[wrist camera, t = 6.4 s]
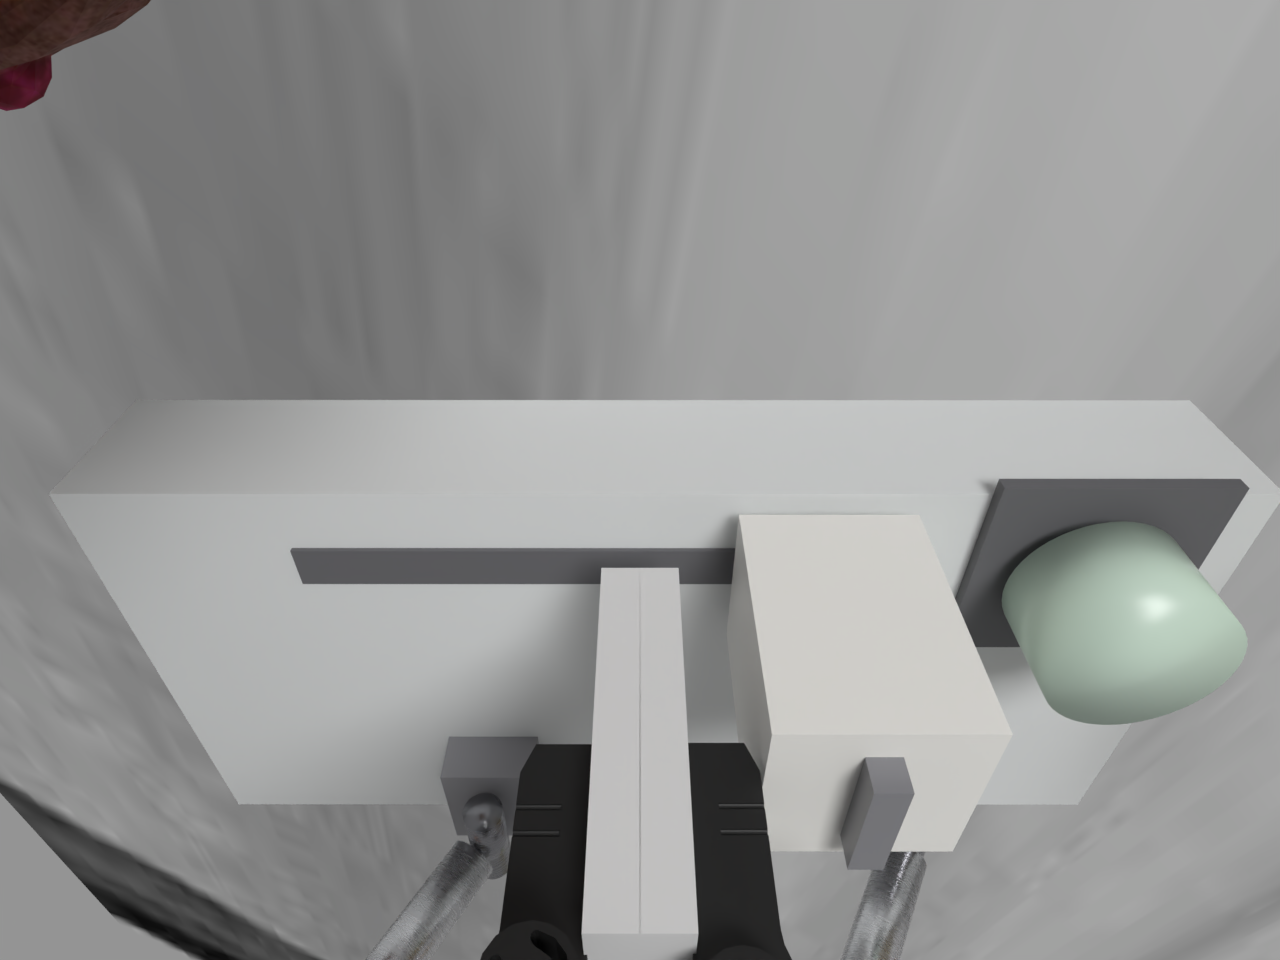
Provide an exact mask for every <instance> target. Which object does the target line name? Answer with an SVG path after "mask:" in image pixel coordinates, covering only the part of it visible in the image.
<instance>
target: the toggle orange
mask: <svg viewBox="0 0 1280 960" xmlns="http://www.w3.org/2000/svg"><path fill="white" fill-rule="evenodd" d="M463 821H464V824H465V828H466V831H467V835H468V839H469V842H470V844H468V843H466V842H464V841H459V840H458V841H456V842H455V844H454V845H453V846H452V848H451V849H450V850H449V852H448V853H447V854H446V855H445V857H444V858H443V859H442V861H441V862H440V863H439V864H438V866H437V867H436V868H435V870H434V871H433V872H432V873H431V875H430V876H429V877H428V879H427V880H426V881H425V883H424V884H423V885H422V886H421V888H420V889H419V890H418V892H417V893H416V894H415V895H414V897H413V898H412V899H411V901H410V902H409V903H408V904H407V906H406V907H405V908H404V910H403V911H402V912H401V914H400V915H399V916H398V917H397V919H396V920H395V921H394V923H393V924H392V925H391V926H390V928H389V929H388V930H387V932H386V933H385V934H384V935H383V937H382V938H381V939H380V941H379V942H378V943H377V945H376V946H375V947H374V948H373V950H372V951H371V952H370V954H369V955H368V956H367V957H366V959H365V960H430V958H431V957H432V955H433V954H434V953H435V951H436V950H437V948H438V947H439V946H440V944H441V943H442V941H443V940H444V939H445V937H446V936H447V934H448V933H449V932H450V930H451V929H452V928H453V926H454V925H455V923H456V922H457V921H458V919H459V918H460V916H461V915H462V914H463V912H464V911H465V909H466V908H467V907H468V905H469V904H470V902H471V901H472V900H473V898H474V897H475V895H476V894H477V893H478V891H479V890H480V888H481V887H482V886H483V884H484V883H485V881H486V880H487V879H498V878H500V877H502V876H504V875H505V874H506V873H507V869H508V862H509V854H510V846H511V844H510V839H509V835H508V830H507V825H506V820H505V816H504V811H503V806H502V803H501V801H500V799H499V798H498V797H497V796H496V795H494V794H491V793H480V794H477V795H475V796H473V797H472V798H470V799H469V800H468V801H467V803H466V804H465V806H464V809H463Z"/></svg>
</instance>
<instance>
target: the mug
mask: <svg viewBox="0 0 1280 960" xmlns="http://www.w3.org/2000/svg"><path fill="white" fill-rule="evenodd" d="M150 1H151V0H0V109H2V110H5V111H10V110H16V109H22V108H25V107H27V106H28V105H30V104H32V103H34V102H35V101H37V100H39V99H40V98H42V97H44V95H45V92H46V90H47V88H48V86H49V83H50V81H51V79H52V61H51V56H52V55H54V54H56V53H57V52H59V51H61V50H63V49H64V48H67V47H69V46H72V45H74V44H77V43H80V42H82V41H85V40H87V39H90V38H92V37H95V36H97V35H100V34H102V33H105V32H107V31H110V30H112V29H115V28H116V27H118V26H119V25H120V24H122V23H123V22H125V21H126V20H127V19H129V18H130V17H131V16H133V15H134V14H135V13H137V12H138V11H139V10H141V9H142V8H144V7H145V6H146V5H148V3H149V2H150Z"/></svg>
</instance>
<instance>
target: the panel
mask: <svg viewBox="0 0 1280 960" xmlns="http://www.w3.org/2000/svg"><path fill="white" fill-rule="evenodd" d="M49 496H50V497H51V499H52V500H53V502H54V504H55V505H56V507H57V509H58V510H59V512H60V513H61V515H62V517H63V518H64V520H65V522H66V523H67V525H68V527H69V528H70V530H71V531H72V533H73V535H74V536H75V538H76V540H77V541H78V543H79V544H80V546H81V548H82V549H83V551H84V553H85V554H86V556H87V557H88V559H89V561H90V562H91V564H92V566H93V567H94V569H95V571H96V572H97V574H98V575H99V577H100V579H101V580H102V582H103V584H104V585H105V587H106V588H107V590H108V592H109V593H110V595H111V597H112V598H113V600H114V602H115V603H116V605H117V606H118V608H119V610H120V611H121V613H122V615H123V616H124V618H125V619H126V621H127V623H128V624H129V626H130V628H131V629H132V631H133V633H134V634H135V636H136V637H137V639H138V641H139V642H140V644H141V646H142V647H143V649H144V650H145V652H146V654H147V655H148V657H149V659H150V660H151V662H152V664H153V665H154V667H155V668H156V670H157V672H158V673H159V675H160V677H161V678H162V680H163V681H164V683H165V685H166V686H167V688H168V690H169V691H170V693H171V694H172V696H173V698H174V699H175V701H176V703H177V704H178V706H179V708H180V709H181V711H182V712H183V714H184V716H185V717H186V719H187V721H188V722H189V724H190V725H191V727H192V729H193V730H194V732H195V734H196V735H197V737H198V739H199V740H200V742H201V743H202V745H203V747H204V748H205V750H206V752H207V753H208V755H209V756H210V758H211V760H212V761H213V763H214V765H215V766H216V768H217V770H218V771H219V773H220V774H221V776H222V778H223V779H224V781H225V783H226V784H227V786H228V787H229V789H230V791H231V792H232V794H233V796H234V797H235V799H236V801H237V802H238V804H448V806H449V810H450V813H451V817H452V820H453V823H454V827H455V830H456V834H457V835H467V831H466V828H465V824H464V821H463V809H464V806H465V804H466V803H467V801H468V800H469V799H470V798H472V797H473V796H475V795H477V794H480V793H491V794H494V795H496V796H497V797H498V798H499V799H500V801H501V803H502V806H503V811H504V816H505V820H506V825H507V830H508V835H509V836H512V835H513V823H514V816H515V810H516V800H517V793H518V785H519V778H520V772H521V770H522V768H523V766H524V765H525V763H526V761H527V759H528V758H529V756H530V754H531V752H532V751H533V749H534V747H535V745H536V744H592V732H593V714H594V695H595V677H596V658H597V640H598V621H599V603H600V585H601V568H679V585H680V603H681V621H682V640H683V658H684V677H685V695H686V714H687V732H688V743H739V742H738V733H737V724H736V715H735V706H734V697H733V688H732V679H731V670H730V661H729V652H728V643H727V634H726V633H727V623H728V614H729V604H730V595H731V585H732V576H733V566H734V557H735V547H736V538H737V528H738V519H739V515H920V518H921V520H922V522H923V525H924V527H925V529H926V532H927V534H928V537H929V539H930V541H931V544H932V546H933V548H934V551H935V553H936V555H937V558H938V560H939V562H940V565H941V567H942V569H943V572H944V574H945V576H946V579H947V581H948V584H949V586H950V588H951V591H952V593H953V595H954V598H955V600H956V602H957V605H958V607H959V609H960V612H961V614H962V616H963V619H964V621H965V623H966V626H967V628H968V630H969V633H970V635H971V638H972V640H973V642H974V645H975V647H976V649H977V652H978V654H979V656H980V659H981V661H982V663H983V666H984V668H985V670H986V673H987V675H988V677H989V680H990V682H991V685H992V687H993V689H994V692H995V694H996V696H997V699H998V701H999V703H1000V706H1001V708H1002V710H1003V713H1004V715H1005V717H1006V720H1007V722H1008V724H1009V727H1010V729H1011V732H1012V734H1013V735H1012V737H1011V739H1010V741H1009V743H1008V745H1007V747H1006V749H1005V751H1004V753H1003V755H1002V757H1001V759H1000V761H999V763H998V764H997V766H996V768H995V770H994V772H993V774H992V776H991V778H990V780H989V782H988V784H987V786H986V788H985V790H984V792H983V794H982V796H981V797H980V799H979V801H978V803H977V805H1078V803H1079V802H1080V800H1081V799H1082V797H1083V796H1084V794H1085V793H1086V791H1087V790H1088V788H1089V787H1090V785H1091V784H1092V782H1093V781H1094V779H1095V778H1096V776H1097V775H1098V773H1099V772H1100V770H1101V769H1102V767H1103V766H1104V764H1105V763H1106V761H1107V760H1108V758H1109V757H1110V755H1111V754H1112V752H1113V751H1114V749H1115V748H1116V746H1117V745H1118V743H1119V742H1120V740H1121V739H1122V737H1123V736H1124V735H1125V733H1126V732H1127V730H1128V729H1129V727H1130V726H1131V724H1132V723H1128V724H1118V725H1097V724H1088V723H1082V722H1078V721H1074V720H1071V719H1069V718H1066V717H1064V716H1062V715H1060V714H1059V713H1057V712H1056V711H1055V710H1053V709H1052V708H1051V707H1050V706H1049V704H1048V703H1047V701H1046V699H1045V697H1044V695H1043V693H1042V691H1041V689H1040V687H1039V685H1038V683H1037V681H1036V679H1035V677H1034V675H1033V673H1032V670H1031V668H1030V666H1029V664H1028V662H1027V660H1026V658H1025V656H1024V654H1023V652H1022V650H1021V648H1020V646H1019V644H1018V641H1017V639H1016V637H1015V635H1014V633H1013V631H1012V629H1011V627H1010V625H1009V623H1008V621H1007V619H1006V617H1005V614H1004V612H1003V608H1002V593H1003V590H1004V587H1005V584H1006V582H1007V580H1008V578H1009V577H1010V575H1011V574H1012V572H1013V571H1014V569H1015V568H1016V567H1017V566H1018V565H1019V564H1020V563H1021V562H1022V561H1023V560H1024V559H1025V558H1026V557H1027V556H1028V555H1029V554H1031V553H1032V552H1033V551H1035V550H1036V549H1038V548H1039V547H1041V546H1042V545H1044V544H1045V543H1047V542H1049V541H1051V540H1053V539H1055V538H1057V537H1059V536H1061V535H1063V534H1065V533H1068V532H1070V531H1073V530H1076V529H1079V528H1082V527H1086V526H1090V525H1095V524H1100V523H1107V522H1121V521H1124V522H1137V523H1143V524H1148V525H1151V526H1154V527H1157V528H1159V529H1161V530H1163V531H1165V532H1166V533H1168V534H1169V535H1170V536H1171V537H1172V538H1173V539H1174V540H1175V541H1176V542H1177V543H1178V545H1179V546H1180V547H1181V548H1182V550H1183V551H1184V552H1185V553H1186V555H1187V556H1188V557H1189V559H1190V560H1191V561H1192V562H1193V564H1194V565H1195V566H1196V567H1197V569H1198V570H1199V571H1200V573H1201V574H1202V575H1203V576H1204V578H1205V579H1206V580H1207V581H1208V583H1209V584H1210V585H1211V587H1212V588H1213V589H1214V590H1215V592H1216V593H1217V594H1219V593H1220V591H1221V590H1222V588H1223V587H1224V585H1225V584H1226V582H1227V581H1228V579H1229V578H1230V576H1231V575H1232V573H1233V572H1234V570H1235V569H1236V567H1237V566H1238V564H1239V563H1240V561H1241V560H1242V558H1243V557H1244V555H1245V554H1246V552H1247V551H1248V549H1249V548H1250V546H1251V545H1252V543H1253V542H1254V540H1255V539H1256V537H1257V536H1258V534H1259V533H1260V531H1261V530H1262V528H1263V527H1264V526H1265V524H1266V523H1267V521H1268V520H1269V518H1270V517H1271V515H1272V514H1273V512H1274V511H1275V509H1276V508H1277V506H1278V505H1279V503H1280V489H1279V488H1278V487H1277V486H1276V485H1275V484H1274V483H1273V482H1272V481H1271V480H1270V479H1269V478H1268V477H1267V476H1266V475H1265V474H1264V473H1263V472H1262V471H1261V470H1260V469H1259V468H1258V467H1257V466H1256V465H1255V464H1254V463H1253V462H1252V461H1251V460H1250V459H1249V458H1248V457H1247V456H1246V455H1245V454H1244V453H1243V452H1242V451H1241V450H1240V449H1239V448H1238V447H1237V446H1236V445H1235V444H1234V443H1233V442H1232V441H1231V440H1230V439H1229V438H1228V437H1227V436H1226V435H1225V434H1224V433H1223V432H1222V431H1220V430H1219V429H1218V428H1217V427H1216V426H1215V425H1214V424H1213V423H1212V422H1211V421H1210V420H1209V419H1208V418H1207V417H1206V416H1205V415H1204V414H1203V413H1202V412H1201V411H1200V410H1199V409H1198V408H1197V407H1196V406H1195V405H1194V404H1193V403H1192V402H1191V401H1190V400H136V401H135V402H134V403H133V404H132V405H131V406H130V407H129V408H128V409H127V410H126V411H125V412H124V413H123V415H122V416H121V417H120V418H119V419H118V420H117V421H116V422H115V423H114V424H113V425H112V426H111V427H110V429H109V430H108V431H107V432H106V433H105V434H104V435H103V436H102V437H101V438H100V439H99V440H98V441H97V442H96V444H95V445H94V446H93V447H92V448H91V449H90V450H89V451H88V452H87V453H86V454H85V455H84V456H83V457H82V459H81V460H80V461H79V462H78V463H77V464H76V465H75V466H74V467H73V468H72V469H71V470H70V471H69V472H68V474H67V475H66V476H65V477H64V478H63V479H62V480H61V481H60V482H59V483H58V484H57V485H56V486H55V487H54V489H53V490H52V491H51V492H50V493H49Z"/></svg>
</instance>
